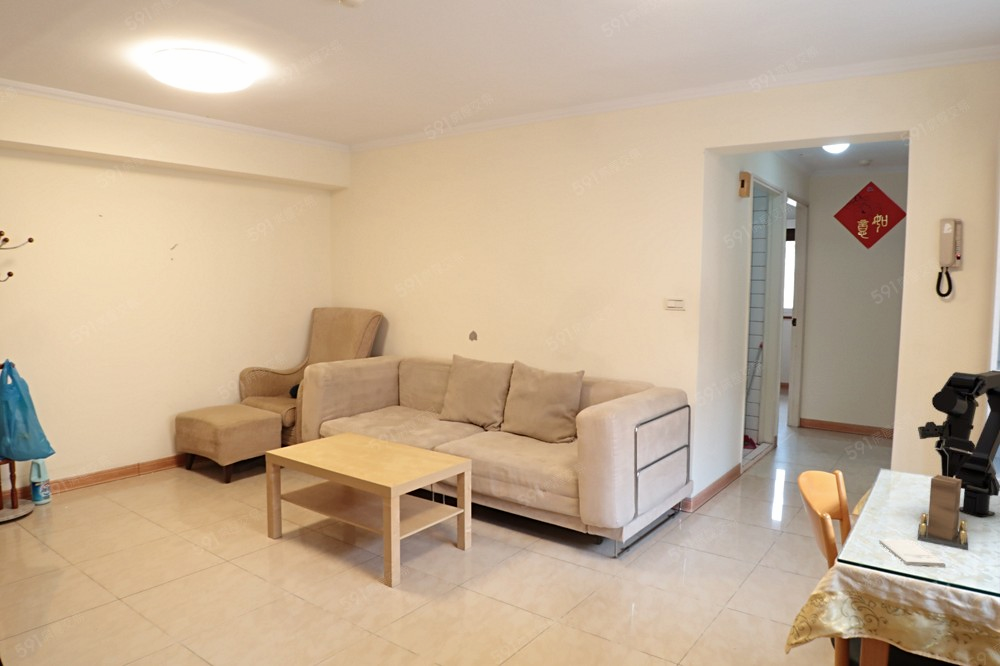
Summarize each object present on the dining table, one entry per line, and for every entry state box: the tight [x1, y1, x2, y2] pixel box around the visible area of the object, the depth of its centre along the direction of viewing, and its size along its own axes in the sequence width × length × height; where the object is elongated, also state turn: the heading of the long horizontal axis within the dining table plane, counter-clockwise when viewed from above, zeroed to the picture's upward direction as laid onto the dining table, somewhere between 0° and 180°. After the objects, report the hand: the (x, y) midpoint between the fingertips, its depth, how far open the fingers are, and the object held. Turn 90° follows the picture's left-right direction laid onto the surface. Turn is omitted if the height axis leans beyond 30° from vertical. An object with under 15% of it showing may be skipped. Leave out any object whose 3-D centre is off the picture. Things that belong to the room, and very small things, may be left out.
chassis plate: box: [916, 513, 969, 551], centre depth 158 cm, size 10×10×4 cm
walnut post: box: [927, 474, 962, 540], centre depth 158 cm, size 5×5×14 cm
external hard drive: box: [878, 538, 946, 568], centre depth 148 cm, size 2×8×12 cm
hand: (947, 477), depth 168 cm, fingers open, 9 cm apart
